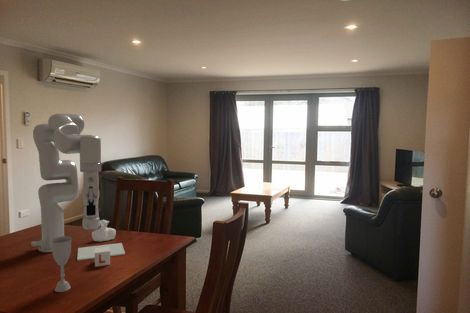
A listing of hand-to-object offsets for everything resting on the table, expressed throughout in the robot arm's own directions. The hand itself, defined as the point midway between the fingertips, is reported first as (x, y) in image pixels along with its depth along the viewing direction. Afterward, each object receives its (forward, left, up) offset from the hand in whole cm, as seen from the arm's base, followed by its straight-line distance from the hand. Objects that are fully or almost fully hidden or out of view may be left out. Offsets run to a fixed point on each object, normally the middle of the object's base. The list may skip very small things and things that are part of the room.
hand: (91, 212), depth 130 cm
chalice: (-10, -9, -25) cm, 28 cm away
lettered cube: (+4, +11, -25) cm, 27 cm away
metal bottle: (0, 0, -7) cm, 7 cm away
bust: (+6, +45, -25) cm, 51 cm away
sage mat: (+4, +26, -25) cm, 36 cm away
